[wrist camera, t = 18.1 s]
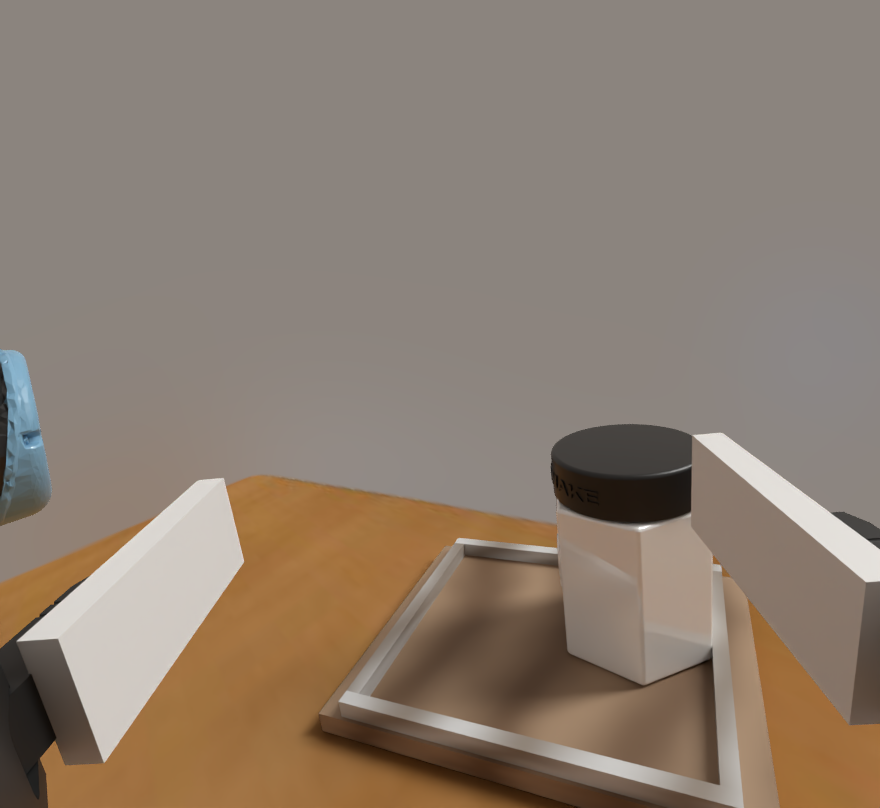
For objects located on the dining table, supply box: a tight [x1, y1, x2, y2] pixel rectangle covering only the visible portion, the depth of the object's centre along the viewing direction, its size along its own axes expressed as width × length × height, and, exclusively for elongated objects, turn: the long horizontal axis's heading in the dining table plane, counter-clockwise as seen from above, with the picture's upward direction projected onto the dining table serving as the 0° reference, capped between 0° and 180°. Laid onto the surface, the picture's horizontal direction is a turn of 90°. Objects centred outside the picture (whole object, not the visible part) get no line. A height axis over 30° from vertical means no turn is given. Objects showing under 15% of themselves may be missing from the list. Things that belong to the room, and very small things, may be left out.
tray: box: [319, 538, 780, 808], centre depth 33 cm, size 22×18×2 cm
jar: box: [551, 424, 713, 685], centre depth 32 cm, size 9×8×12 cm
